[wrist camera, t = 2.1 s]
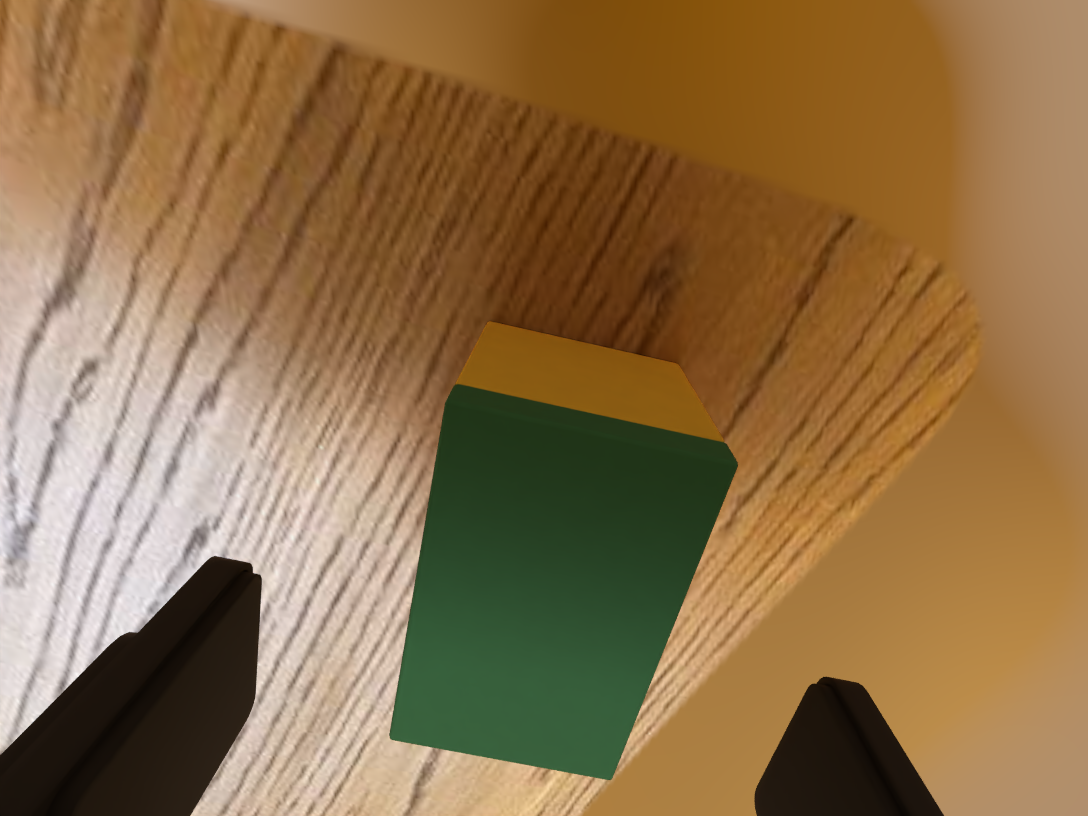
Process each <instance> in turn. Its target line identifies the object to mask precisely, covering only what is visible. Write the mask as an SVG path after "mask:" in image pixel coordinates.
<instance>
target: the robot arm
mask: <svg viewBox="0 0 1088 816" xmlns="http://www.w3.org/2000/svg"><path fill="white" fill-rule="evenodd" d="M261 586H262V578H261V575H259V574H254V573H253V567H252V565H251V564H250V563H247V562H242V561H237V560H232V559H227V558H222V557H217V556H214V557H211V558H210V559H208V560H207V561H206V562H205V563H204V564H203V565H202V566H201V567H200V568H199V569H198V570H197V572H196V573H195V574H194V575H193V576H192V577H191V578H190V579H189V580H188V581H187V582H186V583H185V584H184V585H183V586H182V587H181V588H180V589H179V590H178V591H177V592H176V594H175V595H174V596H173V597H172V598H171V599H170V600H169V601H168V602H167V603H166V604H165V605H164V606H163V607H162V608H161V609H160V610H159V611H158V612H157V613H156V614H155V616H154V617H153V618H152V619H151V620H150V621H149V622H148V623H147V624H146V625H145V626H144V627H143V628H142V629H141V630H140V631H139V632H138V633H134V632H128V633H126V634H124V635H122V636H120V637H119V638H117V639H116V640H115V641H114V642H113V643H111V644H110V645H109V646H108V647H107V648H106V649H105V650H104V651H103V652H102V653H101V654H100V655H99V656H98V657H97V658H96V659H95V660H94V661H93V662H92V663H91V664H90V665H89V666H88V667H87V668H86V670H85V671H84V672H83V673H82V674H81V675H80V676H79V677H78V678H77V679H76V680H75V681H74V682H73V683H72V684H71V685H70V686H69V687H68V688H67V689H66V690H65V691H64V692H63V693H62V694H61V695H60V696H59V697H58V698H57V699H56V700H55V701H54V702H53V703H52V704H51V705H50V706H49V707H48V708H47V709H46V710H45V711H44V712H43V713H42V714H41V715H40V716H39V717H38V718H37V719H36V720H35V721H34V722H33V723H32V724H31V725H30V726H29V727H28V728H27V729H26V730H25V731H24V732H23V733H22V734H21V735H20V736H19V737H18V738H17V739H16V740H15V741H14V742H13V743H12V744H11V745H10V746H9V747H8V748H7V749H6V750H5V751H4V752H3V753H2V754H1V755H0V816H190V815H191V813H192V812H193V810H194V808H195V807H196V805H197V803H198V802H199V800H200V798H201V797H202V795H203V793H204V792H205V790H206V788H207V786H208V785H209V783H210V781H211V780H212V778H213V776H214V775H215V773H216V771H217V770H218V768H219V766H220V764H221V763H222V761H223V759H224V758H225V756H226V754H227V753H228V751H229V749H230V748H231V746H232V744H233V742H234V741H235V739H236V737H237V736H238V734H239V732H240V731H241V729H242V727H243V726H244V724H245V722H246V720H247V718H248V717H249V714H250V712H251V710H252V707H253V704H254V700H255V694H256V677H257V659H258V640H259V622H260V604H261ZM755 809H756V814H757V816H944V815H943V813H942V812H941V810H940V809H939V807H938V805H937V804H936V802H935V801H934V799H933V797H932V795H931V794H930V792H929V791H928V789H927V787H926V786H925V784H924V783H923V781H922V779H921V778H920V776H919V775H918V773H917V771H916V770H915V768H914V766H913V765H912V763H911V762H910V760H909V758H908V757H907V755H906V753H905V752H904V750H903V749H902V747H901V745H900V744H899V742H898V740H897V739H896V737H895V736H894V734H893V732H892V731H891V729H890V727H889V726H888V724H887V723H886V721H885V719H884V718H883V716H882V714H881V713H880V711H879V710H878V708H877V706H876V705H875V703H874V702H873V700H872V698H871V697H870V695H869V693H868V692H867V691H866V689H865V688H864V687H863V686H862V685H860V684H859V683H856V682H851V681H846V680H841V679H835V678H830V677H823V678H821V679H820V680H819V681H818V682H817V684H811V685H810V686H809V687H808V689H807V691H806V692H805V695H804V696H803V698H802V700H801V702H800V704H799V706H798V708H797V710H796V712H795V714H794V716H793V718H792V720H791V721H790V723H789V725H788V727H787V729H786V731H785V733H784V735H783V737H782V739H781V741H780V743H779V745H778V747H777V749H776V751H775V752H774V754H773V756H772V758H771V761H770V762H769V764H768V766H767V768H766V770H765V772H764V774H763V776H762V778H761V780H760V782H759V783H758V785H757V788H756V791H755Z"/></svg>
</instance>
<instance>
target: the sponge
mask: <svg viewBox="0 0 1088 816" xmlns="http://www.w3.org/2000/svg"><path fill="white" fill-rule="evenodd" d="M737 467H738V462H737V461H736V459H735V457H734V456H733V454H732V452H731V451H730V449H729V447H728V445H727V444H726V443H724V439H723V437H722V436H721V434H720V432H719V431H718V429H717V427H716V426H715V424H714V422H713V421H712V419H711V417H710V416H709V414H708V412H707V411H706V409H705V407H704V406H703V404H702V402H701V401H700V399H699V397H698V396H697V394H696V392H695V391H694V389H693V387H692V386H691V384H690V382H689V380H688V379H687V377H686V375H685V374H684V372H683V370H682V369H681V367H680V365H678V364H677V363H673V362H668V361H664V360H660V359H655V358H651V357H646V356H642V355H637V354H633V353H629V352H624V351H620V350H615V349H611V348H606V347H602V346H598V345H593V344H589V343H584V342H580V341H576V340H571V339H567V338H562V337H558V336H553V335H549V334H545V333H540V332H536V331H531V330H527V329H522V328H518V327H514V326H509V325H505V324H500V323H496V322H492V321H490V322H487V324H486V325H485V327H484V329H483V331H482V333H481V335H480V337H479V339H478V341H477V343H476V345H475V347H474V349H473V350H472V352H471V354H470V356H469V358H468V360H467V362H466V364H465V366H464V368H463V370H462V372H461V373H460V375H459V377H458V379H457V381H456V383H455V385H454V387H453V389H452V390H451V392H450V394H449V396H448V398H447V400H446V402H445V407H444V413H443V419H442V425H441V431H440V437H439V443H438V449H437V455H436V461H435V467H434V473H433V479H432V485H431V491H430V496H429V502H428V508H427V514H426V520H425V526H424V532H423V538H422V544H421V550H420V556H419V562H418V568H417V574H416V580H415V586H414V592H413V598H412V603H411V609H410V615H409V621H408V627H407V633H406V639H405V645H404V651H403V657H402V663H401V669H400V675H399V681H398V687H397V693H396V699H395V705H394V711H393V716H392V722H391V728H390V734H389V735H390V739H392V740H395V741H401V742H406V743H411V744H417V745H422V746H428V747H433V748H439V749H444V750H449V751H455V752H460V753H466V754H471V755H476V756H482V757H487V758H493V759H498V760H503V761H509V762H514V763H520V764H525V765H530V766H536V767H541V768H547V769H552V770H557V771H563V772H568V773H574V774H579V775H584V776H590V777H595V778H601V779H606V780H611V779H612V778H613V775H614V773H615V770H616V768H617V765H618V763H619V760H620V758H621V755H622V753H623V750H624V748H625V745H626V743H627V740H628V738H629V735H630V733H631V730H632V728H633V725H634V723H635V720H636V718H637V715H638V713H639V710H640V708H641V705H642V703H643V701H644V698H645V696H646V693H647V691H648V688H649V686H650V683H651V681H652V678H653V676H654V673H655V671H656V668H657V666H658V663H659V661H660V658H661V656H662V653H663V651H664V648H665V646H666V643H667V641H668V638H669V636H670V633H671V631H672V628H673V626H674V624H675V621H676V619H677V616H678V614H679V611H680V609H681V606H682V604H683V601H684V599H685V596H686V594H687V591H688V589H689V586H690V584H691V581H692V579H693V576H694V574H695V571H696V569H697V566H698V564H699V561H700V559H701V556H702V554H703V551H704V549H705V547H706V544H707V542H708V539H709V537H710V534H711V532H712V529H713V527H714V524H715V522H716V519H717V517H718V514H719V512H720V509H721V507H722V504H723V502H724V499H725V497H726V494H727V492H728V489H729V487H730V484H731V482H732V479H733V477H734V474H735V472H736V470H737Z"/></svg>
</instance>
